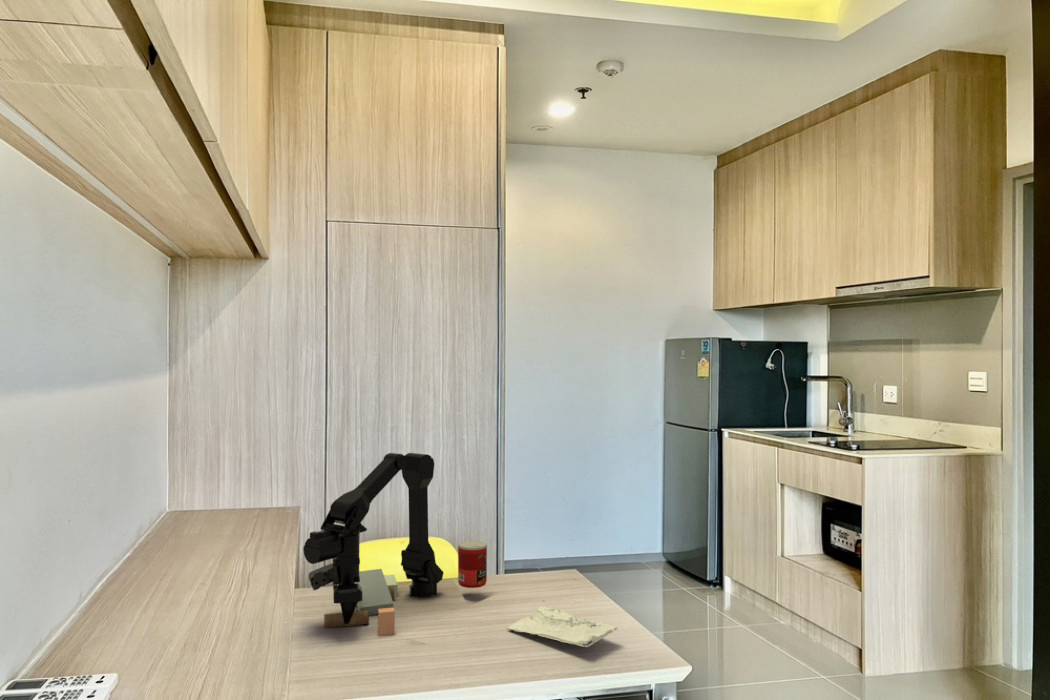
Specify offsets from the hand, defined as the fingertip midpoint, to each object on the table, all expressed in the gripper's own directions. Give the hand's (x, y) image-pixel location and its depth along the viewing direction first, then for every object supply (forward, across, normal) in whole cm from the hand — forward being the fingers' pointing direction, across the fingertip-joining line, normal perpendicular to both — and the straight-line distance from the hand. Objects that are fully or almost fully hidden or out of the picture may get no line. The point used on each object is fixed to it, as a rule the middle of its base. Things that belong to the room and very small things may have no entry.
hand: (346, 620), depth 165 cm
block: (+1, -22, +8) cm, 23 cm away
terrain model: (+2, +16, +48) cm, 50 cm away
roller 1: (+1, 0, 0) cm, 1 cm away
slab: (-1, -13, +6) cm, 14 cm away
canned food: (+1, -22, +34) cm, 41 cm away
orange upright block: (+1, +7, +8) cm, 11 cm away
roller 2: (-2, -16, +7) cm, 17 cm away
